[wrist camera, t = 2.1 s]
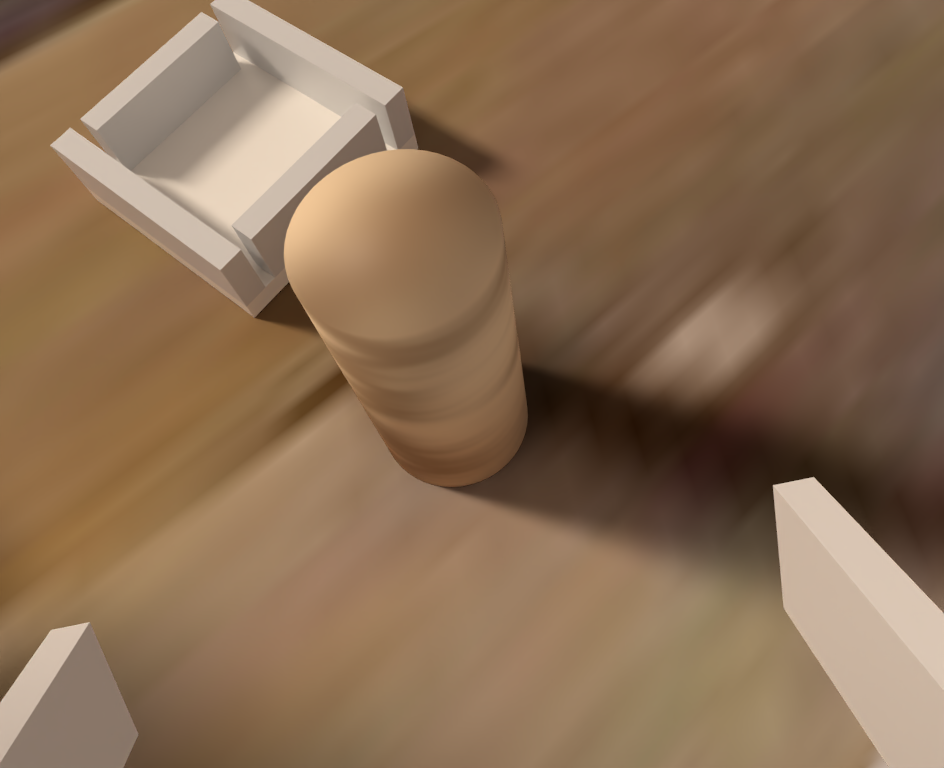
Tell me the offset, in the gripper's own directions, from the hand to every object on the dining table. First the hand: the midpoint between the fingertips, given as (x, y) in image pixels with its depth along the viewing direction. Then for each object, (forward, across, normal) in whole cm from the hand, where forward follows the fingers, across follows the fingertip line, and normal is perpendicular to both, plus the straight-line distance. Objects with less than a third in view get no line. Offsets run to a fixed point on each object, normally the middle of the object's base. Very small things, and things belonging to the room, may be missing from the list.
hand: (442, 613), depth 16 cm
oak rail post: (+18, 0, -4) cm, 19 cm away
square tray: (+29, -8, +7) cm, 31 cm away
